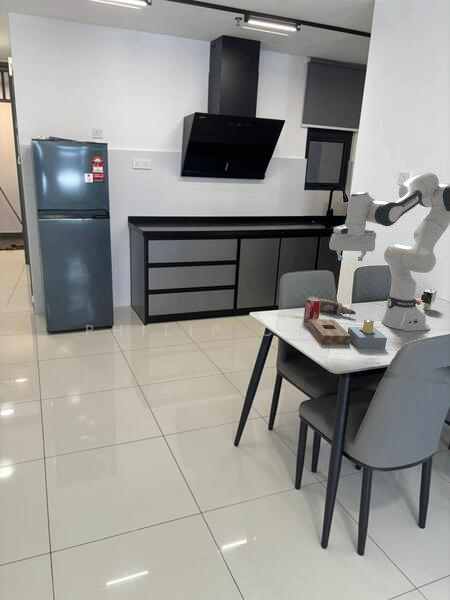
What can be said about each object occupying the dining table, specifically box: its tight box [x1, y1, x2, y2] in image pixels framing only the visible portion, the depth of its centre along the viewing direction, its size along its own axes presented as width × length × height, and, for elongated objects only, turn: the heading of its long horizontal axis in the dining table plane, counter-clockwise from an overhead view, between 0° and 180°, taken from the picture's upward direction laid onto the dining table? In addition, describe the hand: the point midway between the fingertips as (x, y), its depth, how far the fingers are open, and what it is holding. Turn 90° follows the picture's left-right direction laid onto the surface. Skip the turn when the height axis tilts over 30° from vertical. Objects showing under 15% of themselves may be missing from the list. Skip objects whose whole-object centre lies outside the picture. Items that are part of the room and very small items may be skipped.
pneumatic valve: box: [420, 288, 438, 311], centre depth 244 cm, size 6×12×12 cm, turn 141°
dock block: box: [347, 326, 388, 350], centre depth 188 cm, size 12×12×6 cm
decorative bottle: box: [309, 295, 357, 316], centre depth 228 cm, size 26×8×7 cm, turn 54°
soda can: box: [303, 296, 321, 324], centre depth 211 cm, size 7×7×12 cm
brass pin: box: [362, 319, 375, 335], centre depth 187 cm, size 4×4×10 cm
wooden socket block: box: [307, 318, 351, 346], centre depth 194 cm, size 12×20×5 cm, turn 6°
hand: (350, 260), depth 198 cm, fingers open, 8 cm apart
